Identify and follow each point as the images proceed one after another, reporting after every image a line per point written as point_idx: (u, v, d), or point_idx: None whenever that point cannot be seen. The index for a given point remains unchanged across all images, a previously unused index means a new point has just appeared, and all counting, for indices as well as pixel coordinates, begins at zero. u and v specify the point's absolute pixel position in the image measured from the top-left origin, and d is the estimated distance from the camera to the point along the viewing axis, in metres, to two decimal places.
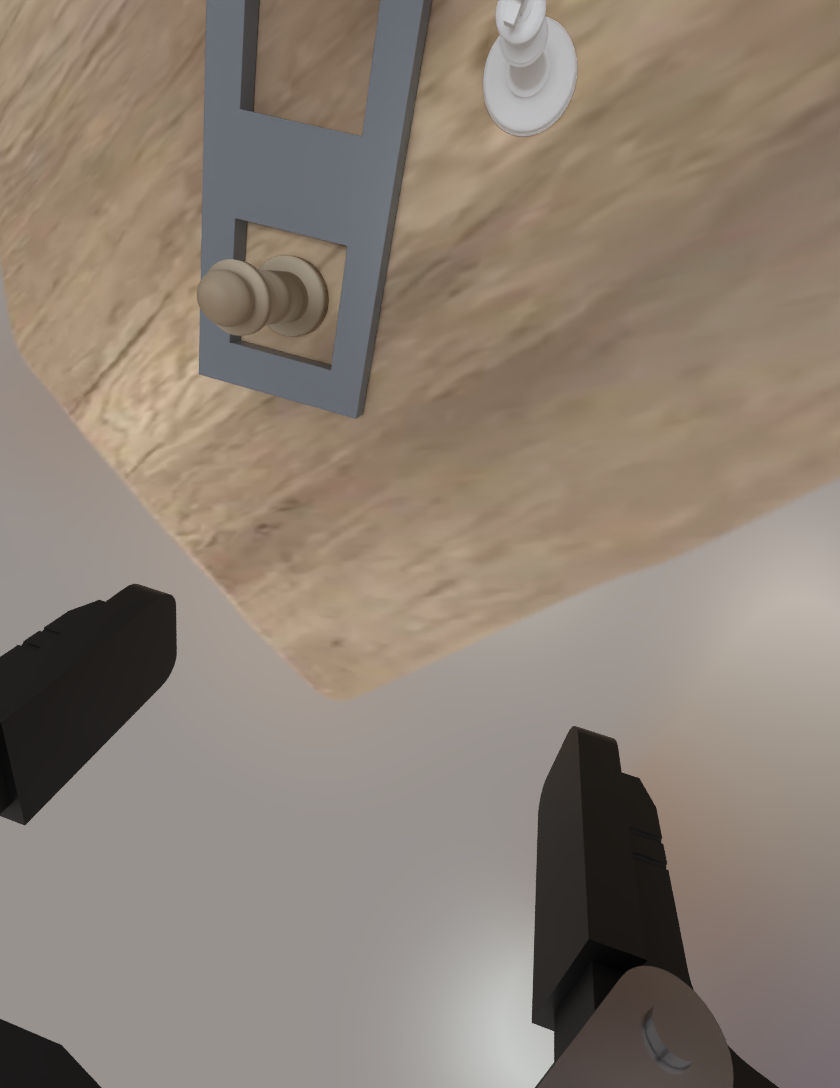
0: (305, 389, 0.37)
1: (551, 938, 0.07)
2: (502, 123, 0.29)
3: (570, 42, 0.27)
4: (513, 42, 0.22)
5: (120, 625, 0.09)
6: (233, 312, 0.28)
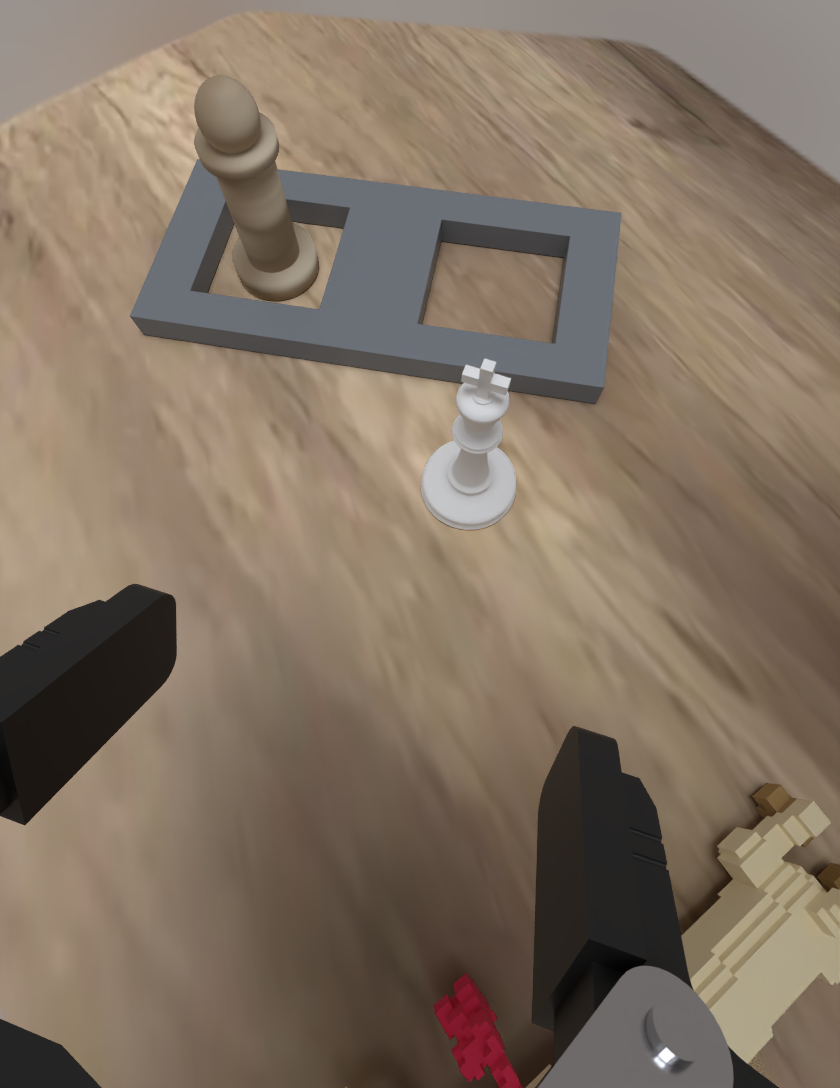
0: (170, 263, 0.31)
1: (551, 938, 0.07)
2: (429, 459, 0.27)
3: (494, 515, 0.26)
4: (457, 394, 0.20)
5: (120, 625, 0.09)
6: (204, 110, 0.23)
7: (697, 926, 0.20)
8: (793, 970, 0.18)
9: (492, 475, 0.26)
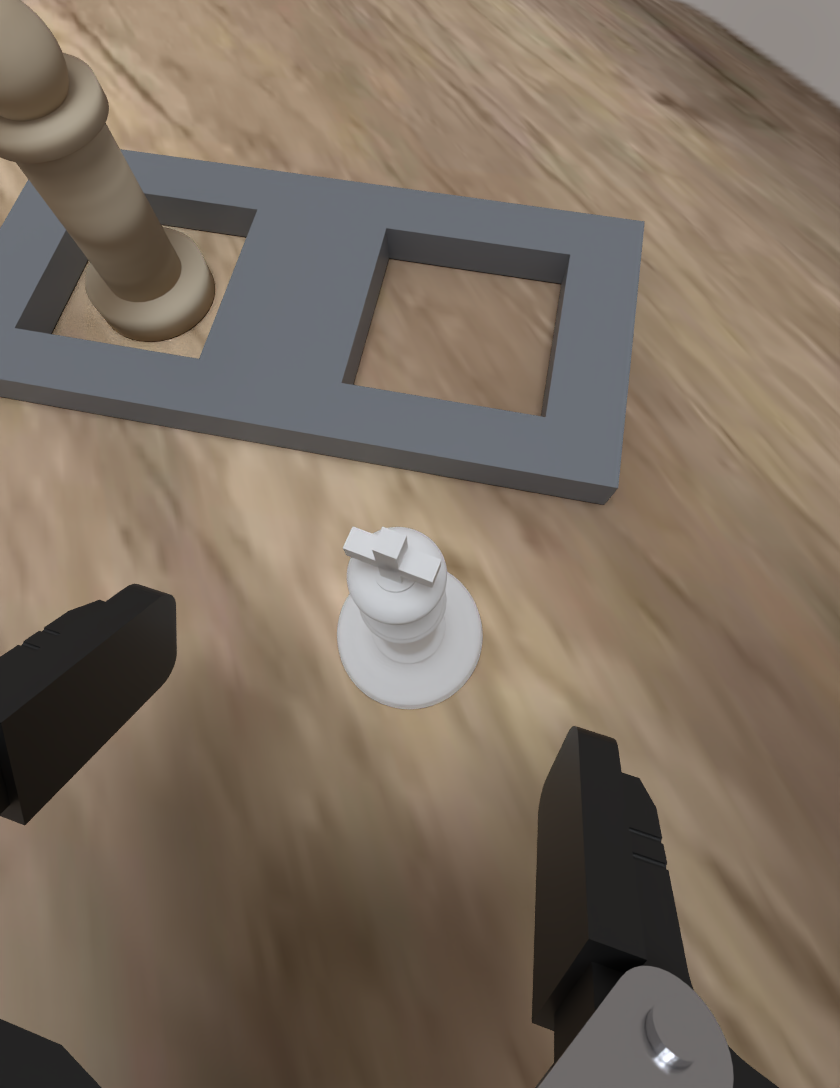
0: None
1: (551, 938, 0.07)
2: (350, 594, 0.18)
3: (446, 692, 0.17)
4: (348, 564, 0.11)
5: (120, 625, 0.09)
6: None
7: None
8: None
9: (442, 633, 0.17)
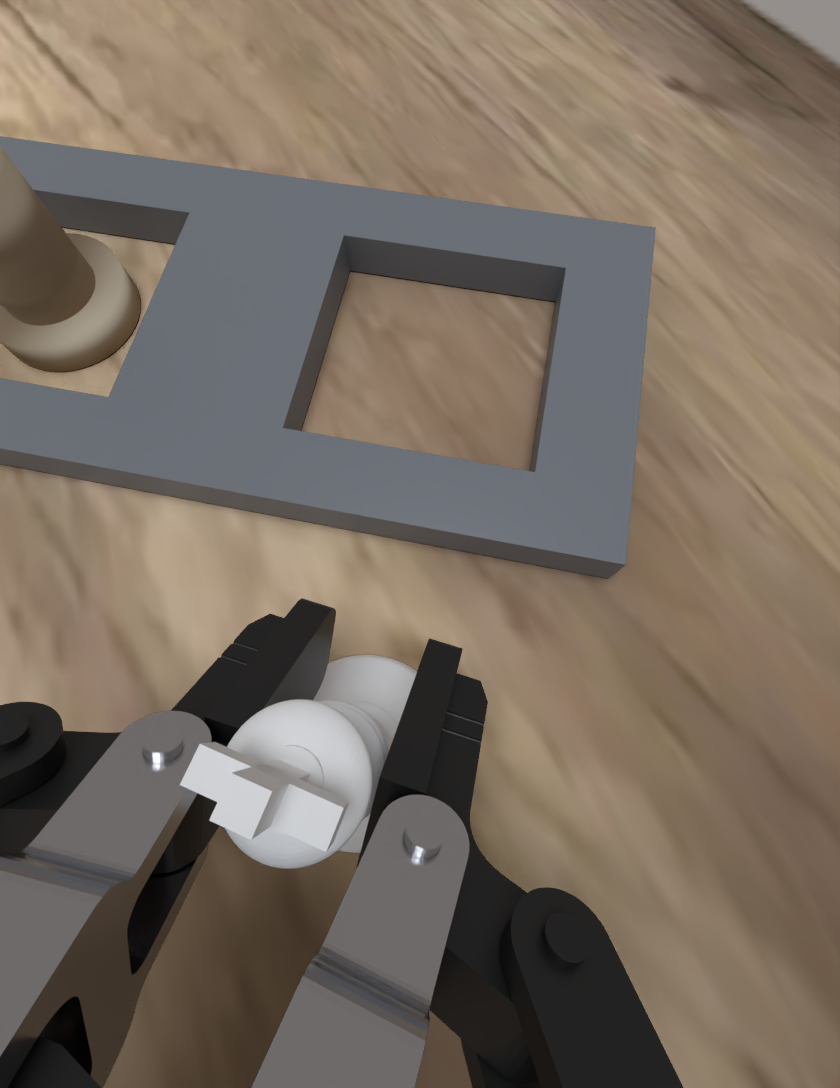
0: None
1: None
2: None
3: None
4: None
5: (307, 639, 0.10)
6: None
7: None
8: None
9: None
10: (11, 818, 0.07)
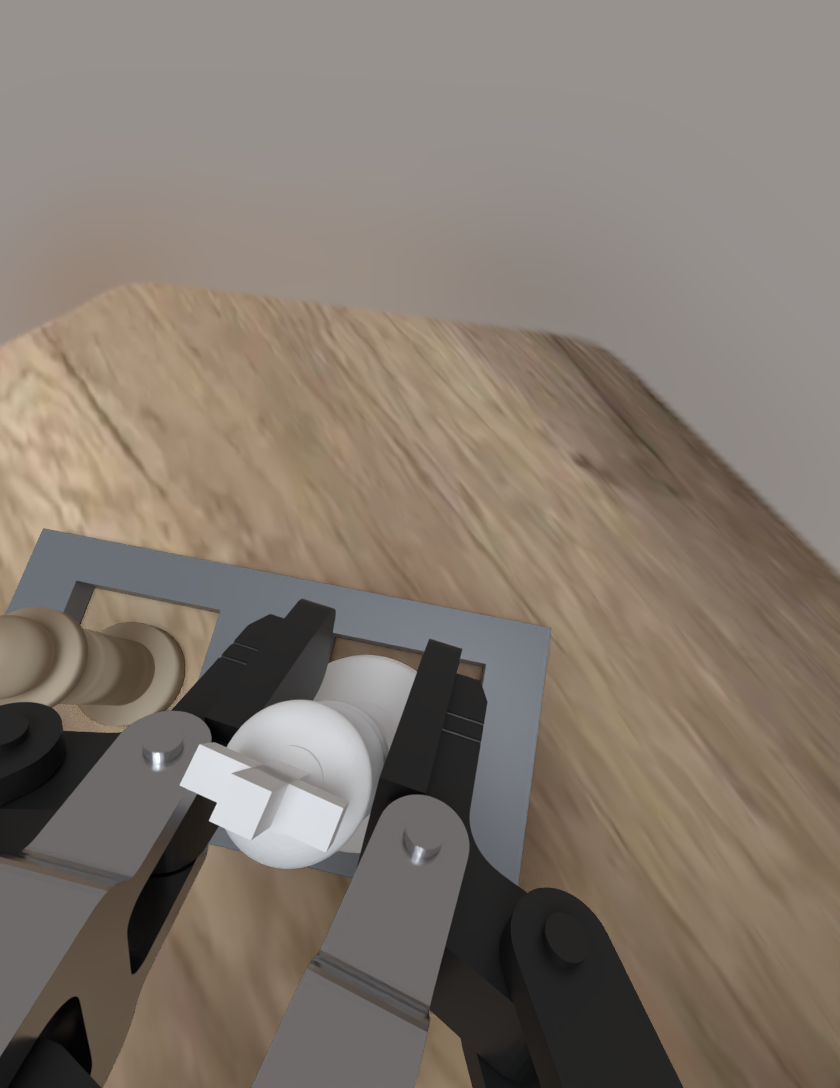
0: None
1: None
2: None
3: None
4: None
5: (307, 638, 0.10)
6: None
7: None
8: None
9: None
10: (11, 818, 0.07)
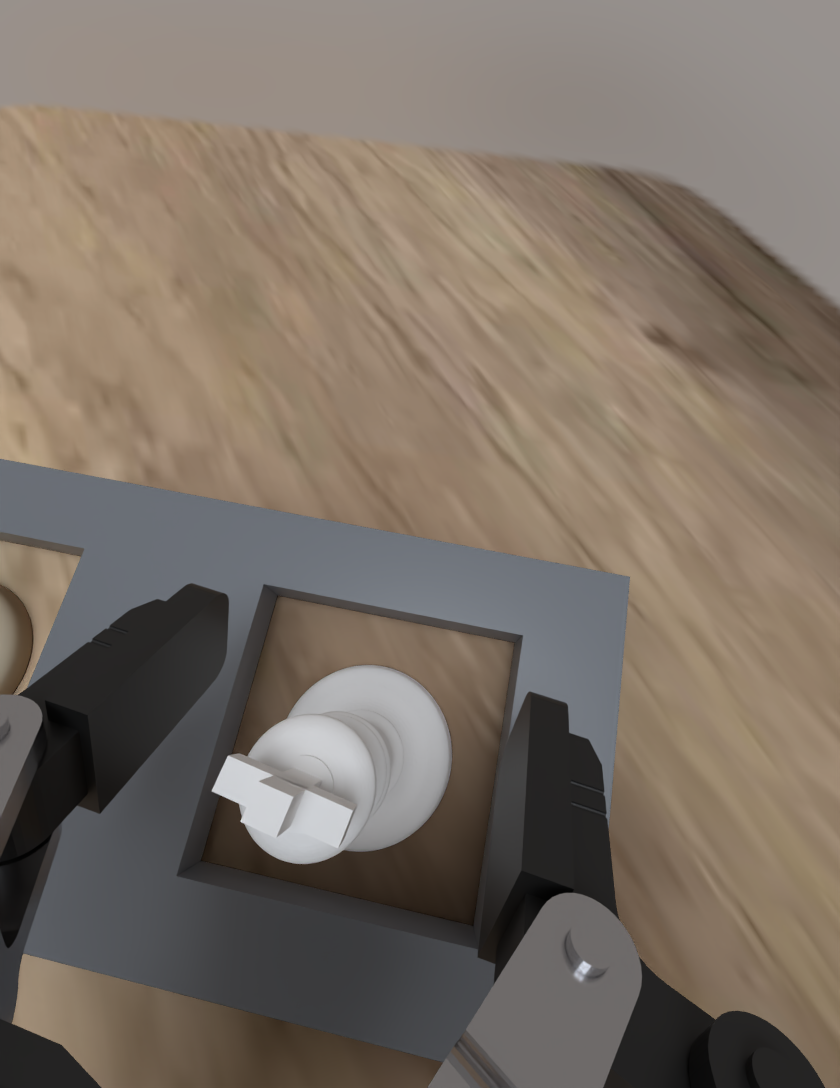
0: None
1: (497, 880, 0.08)
2: (293, 709, 0.15)
3: (405, 834, 0.14)
4: None
5: (184, 623, 0.09)
6: None
7: None
8: None
9: (399, 767, 0.14)
10: None
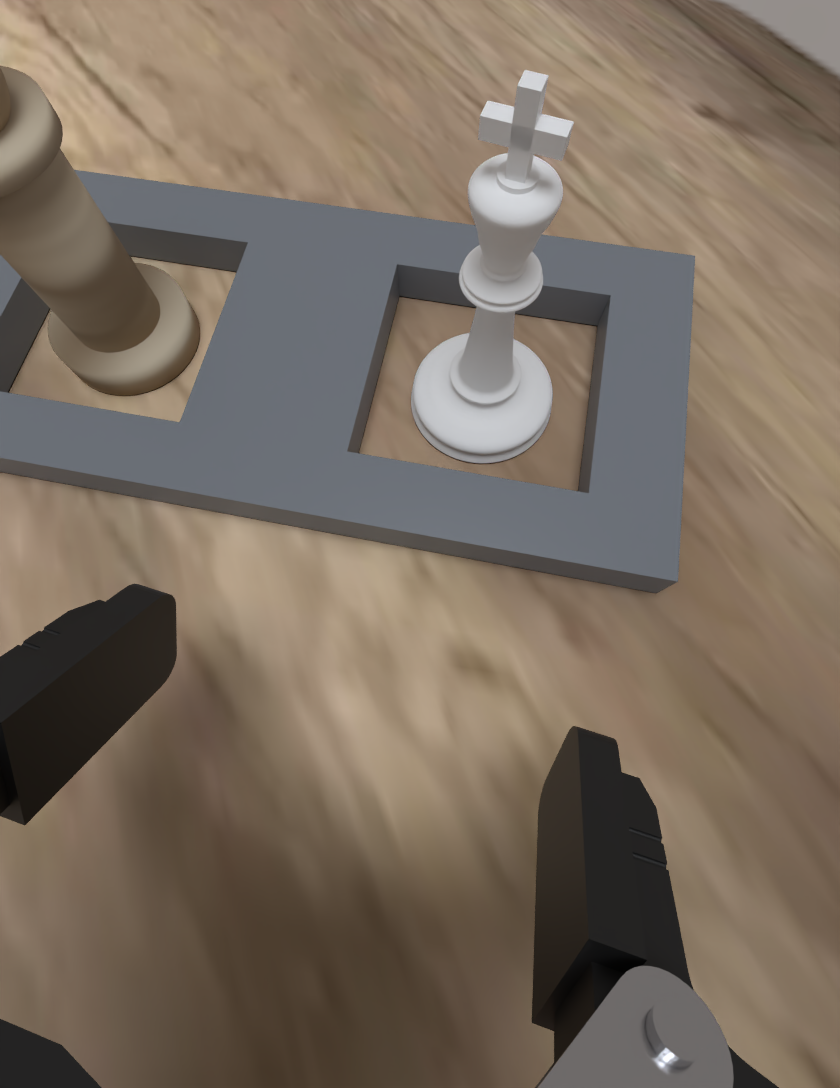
0: None
1: (551, 938, 0.07)
2: (423, 360, 0.19)
3: (521, 439, 0.18)
4: (469, 182, 0.11)
5: (120, 625, 0.09)
6: None
7: None
8: None
9: (518, 377, 0.17)
10: None
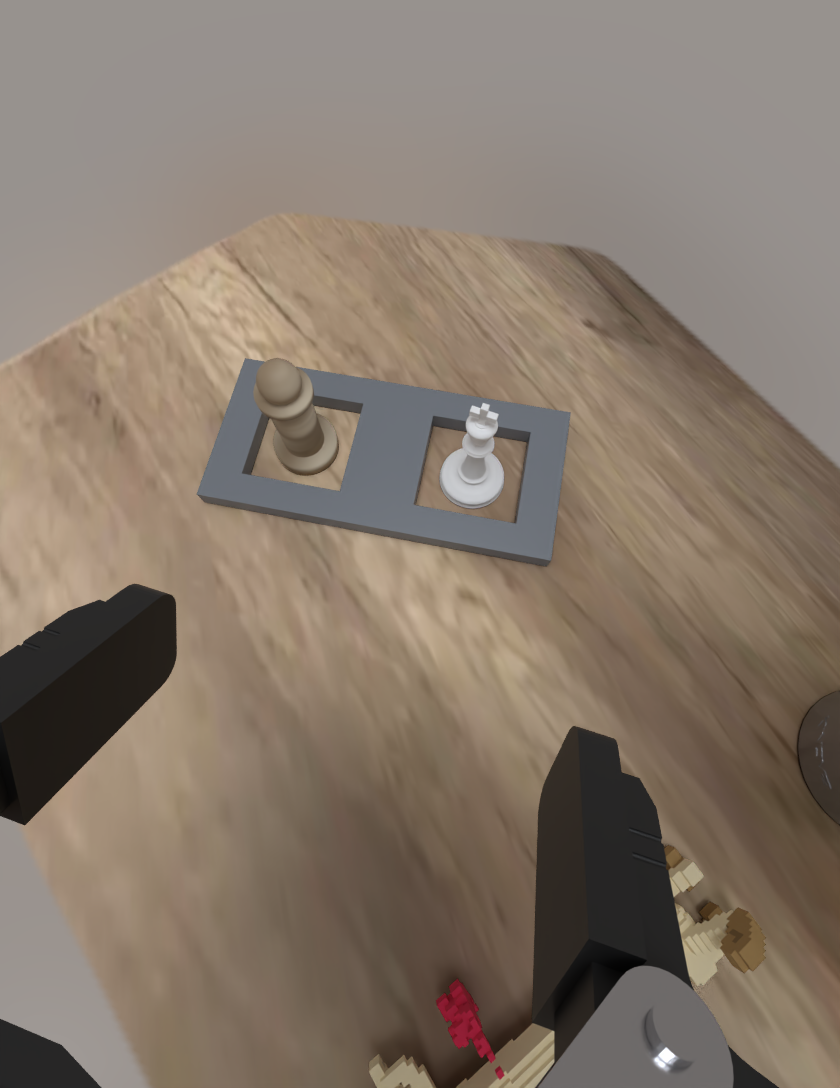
0: (226, 450, 0.40)
1: (551, 938, 0.07)
2: (445, 460, 0.41)
3: (489, 498, 0.40)
4: (466, 422, 0.33)
5: (120, 625, 0.09)
6: (264, 386, 0.33)
7: None
8: None
9: (487, 472, 0.39)
10: None
